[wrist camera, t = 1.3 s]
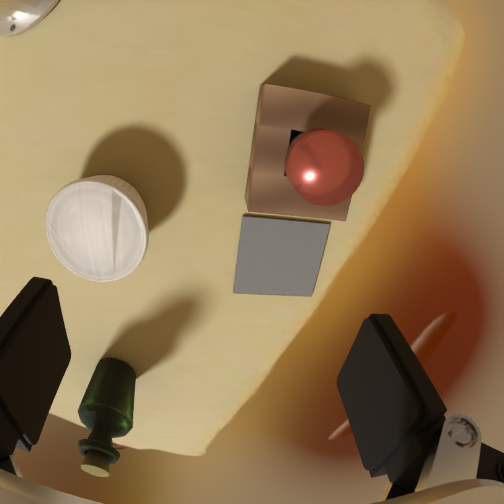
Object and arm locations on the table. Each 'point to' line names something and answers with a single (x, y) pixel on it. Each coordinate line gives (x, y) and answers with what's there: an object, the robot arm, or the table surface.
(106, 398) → the potion bottle
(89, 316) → the table surface
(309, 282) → the slate mat
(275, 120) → the eye block
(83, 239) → the ramekin
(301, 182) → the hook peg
